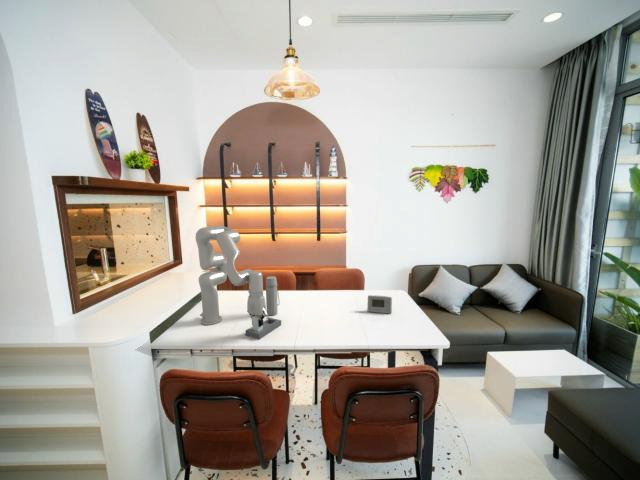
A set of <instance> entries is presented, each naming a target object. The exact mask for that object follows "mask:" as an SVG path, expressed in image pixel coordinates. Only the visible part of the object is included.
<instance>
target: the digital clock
mask: <svg viewBox="0 0 640 480" xmlns="http://www.w3.org/2000/svg"><path fill="white" fill-rule="evenodd" d="M392 309H393V297H392V296H387V295H373V294H371V295H370V294H369V295H367V309H366V310H367V312H368V313H373V314H374V313H375V314H376V313H377V314H392V311H393V310H392Z"/></svg>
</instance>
